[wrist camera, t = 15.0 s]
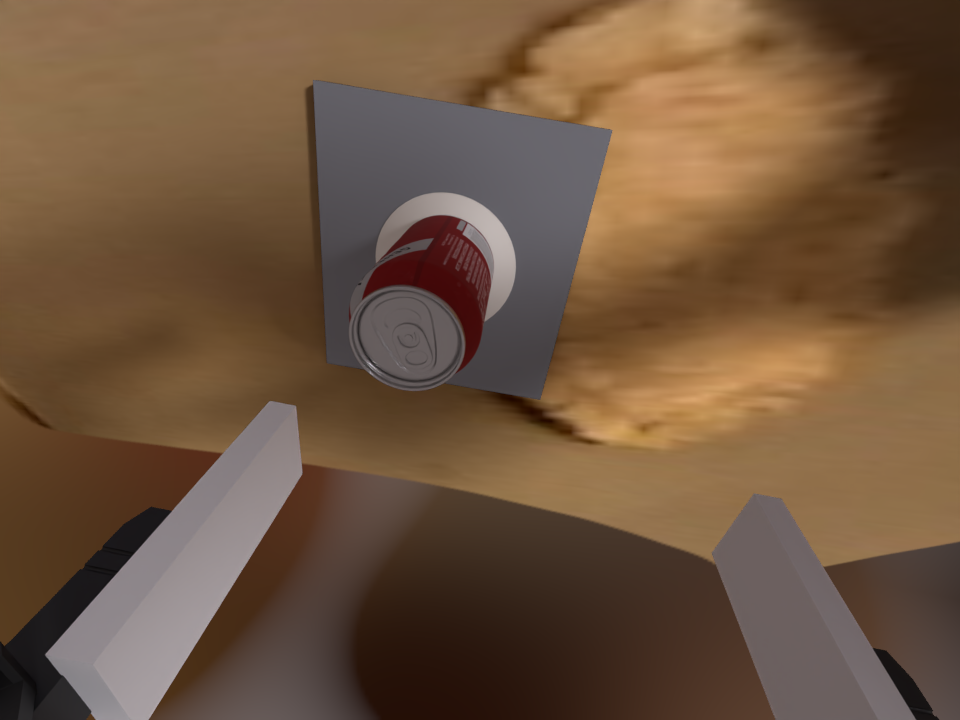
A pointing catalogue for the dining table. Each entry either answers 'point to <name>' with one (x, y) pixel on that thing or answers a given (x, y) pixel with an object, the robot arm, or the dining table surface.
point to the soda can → (423, 305)
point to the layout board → (457, 212)
